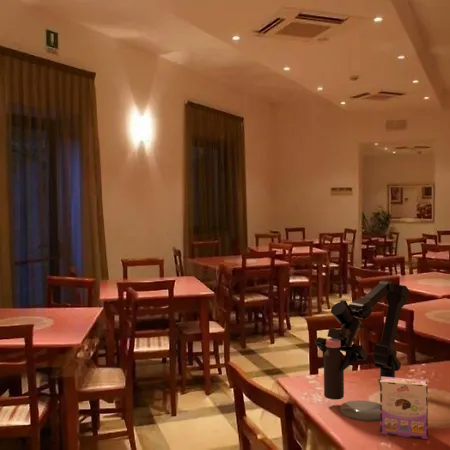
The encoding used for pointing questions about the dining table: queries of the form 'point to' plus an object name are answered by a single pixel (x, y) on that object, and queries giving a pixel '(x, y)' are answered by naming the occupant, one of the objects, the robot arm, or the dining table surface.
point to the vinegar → (333, 370)
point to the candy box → (404, 407)
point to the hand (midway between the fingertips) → (331, 369)
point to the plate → (361, 410)
